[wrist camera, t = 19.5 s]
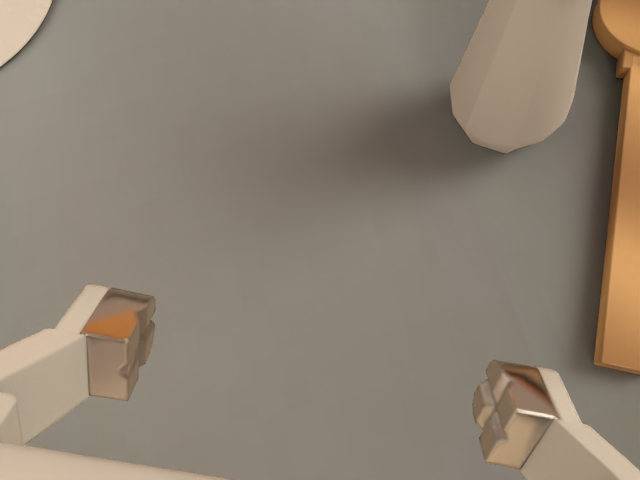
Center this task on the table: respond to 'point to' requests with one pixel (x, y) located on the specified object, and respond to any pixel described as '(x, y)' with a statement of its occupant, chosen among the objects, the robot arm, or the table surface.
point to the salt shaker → (520, 71)
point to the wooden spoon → (622, 195)
